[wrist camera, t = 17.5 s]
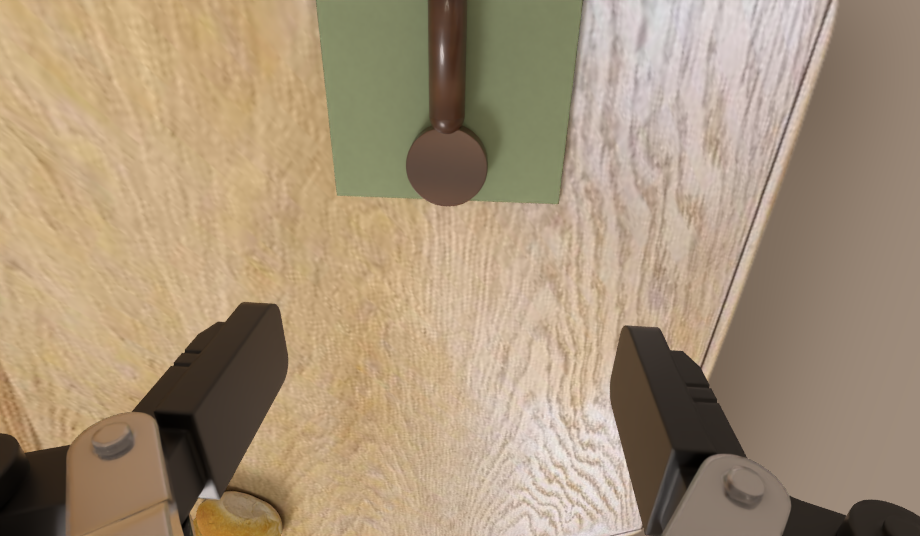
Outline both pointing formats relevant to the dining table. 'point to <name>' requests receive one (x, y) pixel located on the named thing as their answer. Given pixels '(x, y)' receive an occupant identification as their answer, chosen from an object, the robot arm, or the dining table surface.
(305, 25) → the dining table surface
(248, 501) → the bread roll
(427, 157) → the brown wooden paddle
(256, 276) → the dining table surface
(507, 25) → the placemat
